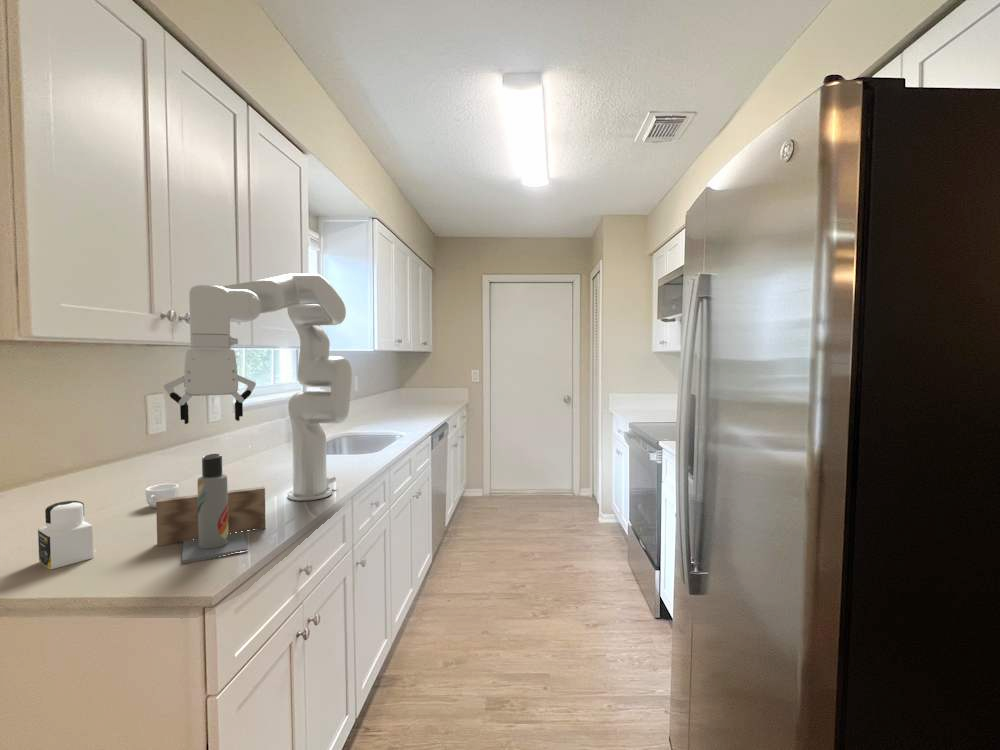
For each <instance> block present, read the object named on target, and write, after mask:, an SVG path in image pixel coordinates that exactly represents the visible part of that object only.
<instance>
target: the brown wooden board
mask: <svg viewBox="0 0 1000 750" xmlns="http://www.w3.org/2000/svg"><path fill="white" fill-rule="evenodd" d="M155 509H156V510H155V511H156V512H155V513H156V515H155V516H156V547H161V546H167V545H173V543H174V544H179V543H178V542H180V543H183V541H188V540H193V539H199V530H198V494H192V495H185V496H184V495H183V496H178V497H175V498H167V499H159V500H157V501H156V508H155ZM261 528H266V488H265V486H258V487H250V488H241V489H233V490H228V534H230V533H235V532H241V531H247V530H253V529H260V530H262V529H261Z"/></svg>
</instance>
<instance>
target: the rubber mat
mask: <svg viewBox="0 0 1000 750" xmlns="http://www.w3.org/2000/svg"><path fill="white" fill-rule="evenodd" d="M244 533H245V532H237V533H231V534H228V543H227V544H226V545H224V546H222V547H218V548H214V549H202V548H200V547H199V539H194V540H188V541H183V542H182V543H183V544H182V556H181V557H182V558H181V564H182V565H186V564H189V563H190V562H191V563H195V562H202V561H207V560H211V558H213V559H216V558H215V557H218V558H220V557H219V556H223V555H228V554H231V553H235V552H240V551H246V550H248V549H249V547H248V544H247V541H246V536H245V534H244ZM248 551H249V550H248ZM206 559H207V560H206ZM185 563H186V564H185Z"/></svg>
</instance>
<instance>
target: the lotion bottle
mask: <svg viewBox="0 0 1000 750" xmlns="http://www.w3.org/2000/svg"><path fill="white" fill-rule="evenodd" d="M228 488H229V487H228V475H227V474H225V473H224V474H223V456H222V455H221V454H220V453H210V454H207V455H203V456H202V457H201V476H200V477H198V478H197V495H198V530H199V547H200V548H202V549H214V548H218V547H222V546H224V545H226V544H227V543H228V491H229V490H228Z"/></svg>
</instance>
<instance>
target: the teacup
mask: <svg viewBox="0 0 1000 750" xmlns="http://www.w3.org/2000/svg"><path fill="white" fill-rule="evenodd" d="M179 488H180V486H179V484H177V483H160V484H157V485H155V484H154V485H151V486H148V487H146V488H145V498H146V499H145V500H146V502H147V504H148V506H149V507H150V508H153V507H154V508H153V509H156V501H157V500H159V499H167V498H175V497H179V493H180V492H179V491H180V490H179Z"/></svg>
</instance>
